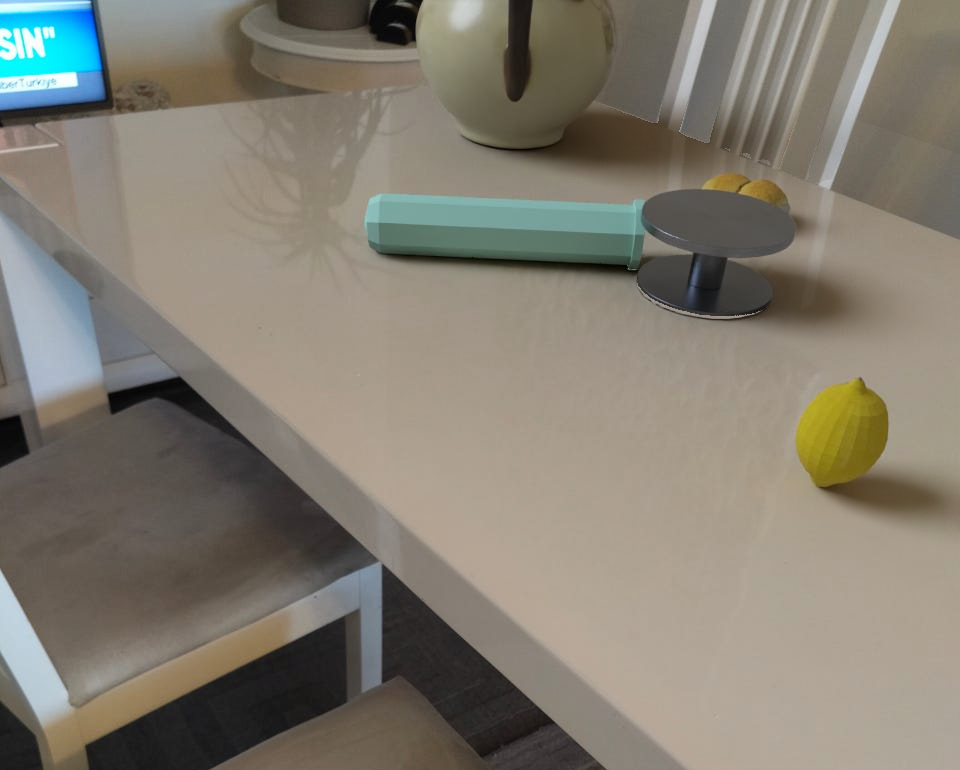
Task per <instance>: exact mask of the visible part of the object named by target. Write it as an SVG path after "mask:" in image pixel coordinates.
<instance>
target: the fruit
mask: <svg viewBox="0 0 960 770" xmlns="http://www.w3.org/2000/svg"><path fill="white" fill-rule="evenodd" d="M889 423H890V422H889V412H888V408H887V404H886V402H885V400H883V398H882V397H881V396H879V394H877V392H875V391H874V390H873V389H871V388H869V387H867V386H866V383H865V380H864V379H863V378H862V377H861V376H858V377H856V378H853V379H852V380H850V381H849V382H843V383H836V384H833V385H830V386H827V387H826V388H824V390H822V391H821V392H819V393H818V394H817V395H816V396H815V397H814V398H813V399H812V401H811V402H810V403H809V404H808V405H807V406H806V408H805V409H804V411H803V413H802V414H801V417H800V418H799V421H798V424H797V429H796V435H795V448H796V453H797V457H798V459H799V461H800V463H801V465H802V467H803V468H804V470H805V471H806V472H807V473H808V474H809V477H810V480H811V482H812V483H813V484H814V485H816V486H817V487H819V488H820V487H821V488H828V487H830V486H833V485H836V484H837V485H838V484H844V483H848V482H852V481H854V480H856V479H859V478H861V477H863V475H865V474H866V473H867V472H869V471H870V470H871V469H872V468H873V466H874V465H875V464H876V463H877V461H878V460H879V459H880V457H882V455H883V453H884V451H885V449H886V446H887V443H888V439H889V425H890V424H889Z"/></svg>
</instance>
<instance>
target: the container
mask: <svg viewBox="0 0 960 770" xmlns="http://www.w3.org/2000/svg"><path fill="white" fill-rule="evenodd" d="M644 203H645V200H644V199H634V200H633V202H632V204H624V203H623V204H621V203H602V202H601V203H600V202H582V201H581V202H580V201H579V202H577V201H560V200H559V201H558V200H557V201H556V200H536V199H516V198H496V197H495V198H492V197H472V196H470V197H469V196H452V195H451V196H448V195H429V194H428V195H427V194H407V193H386V192H382V193H380V194H377V195H375V196H373V197H370V198H369V201H368V203H367V207H366V212H365V217H364V221H363V224H364V228H365V233H366V238H367V242H368V246H369V248H371V249H373V250H374V251H377V252H378V253H380V254H389V255H411V256H432V257H451V258H452V257H453V258H472V257H473V258H475V259H494V260H495V259H496V260H514V261H515V260H517V261H519V260H520V261H540V262H559V263H560V262H562V263H578V264H579V263H583V264H600V263H601V264H603V265H623V266H627V265H628V268H629V269H637V270H639V266H640V264H641V261H642V255H643V250H644V249H643V248H644V244H645V243H644V242H645V235H646V234H645V233H646V230H645V228H644V227H643V225H642V223H641V212H642V207H643V205H644Z"/></svg>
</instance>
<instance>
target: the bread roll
mask: <svg viewBox="0 0 960 770" xmlns="http://www.w3.org/2000/svg"><path fill="white" fill-rule="evenodd" d="M700 189H710V190H720V191H728V192H734V193H739V194H743V195H747V196H751V197H754V198H757V199H760V200H763V201H766V202H768V203H771V204H773V205H775V206H777V207H779V208H780V209H782V210H783V211H785V212H786V213H788V214H789V215H790V211H791V205H790V203H789V199H788V197H787V194H786V193H785V192H784V191H783V189H782V188H781V187H779V186H778V185H777V184H776V183H775V182H773V181H771V180H769V179H763V178H762V179H757V180H752V179H750V178H748V177H747V176H745V175H744V174H741V173H737V172H726V173H722V174H719V175H716V176H714V177H712V178H711V179H709V180H707V181H706V182H705V183H704V184H703V185H702V187H701V188H700Z"/></svg>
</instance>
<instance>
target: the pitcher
mask: <svg viewBox="0 0 960 770" xmlns="http://www.w3.org/2000/svg"><path fill="white" fill-rule="evenodd" d="M617 24H618V23H617V19H616V15H615V11H614V8H613V5H612V3H611V0H422V1H421V5H420V7H419V10H418V13H417V17H416V22H415V43H416V44H415V45H416V51H417V55H418V59H419V64H420V67H421V70H422V73H423V74H424V76H425V79H426V81H427V83H428V85H429V86H430V89H431V90H432V92H433V93H434V95H435V97H437V99H438V101H439V102H440V103H441V105H442V106H443V107H444V108H445V109H446V110H447V111H448V112H449V113H450V114H451V115H452V116H453V118H454V119H455V122H456V128H457V131H458V132H459V134H460V135H461V136H462V137H463V138H465V139H467V140H469V141H472V142H474V143H478V144H480V145H485V146H488V147H494V148H500V149H510V150H528V149H537V148H544V147H548V146H551V145H555V144H556V143H557V142H559V141H560V140H561V139H562V137H563V135H564V131H565V130H566V128H567V126H569V125H570V124H571V123H572V122H574V121H576V119H578V118H579V117H580V116H581V115H582V114H583V113H584V112H585V111H586V110H587V109H588V108H589V107H590V106H591V105H592V104H593V102H594V101H595V100H596V99H597V97H598V95H599V94H600V93H601V92H602V90H603V89H604V87H605V85H606V83H607V81H608V79H609V77H610V75H611V71H612V68H613V66H614V63H615V59H616V55H617V49H618V25H617Z"/></svg>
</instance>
